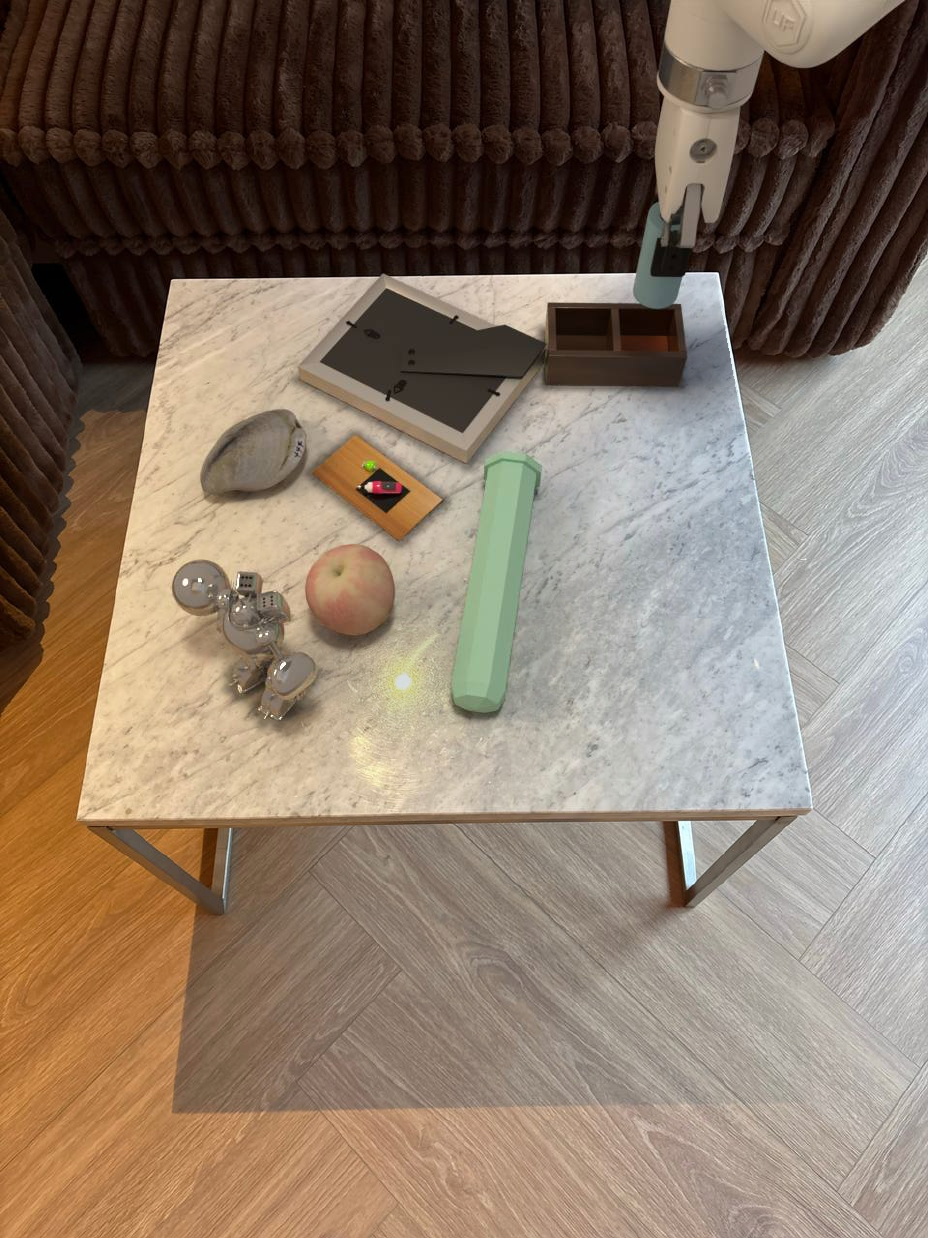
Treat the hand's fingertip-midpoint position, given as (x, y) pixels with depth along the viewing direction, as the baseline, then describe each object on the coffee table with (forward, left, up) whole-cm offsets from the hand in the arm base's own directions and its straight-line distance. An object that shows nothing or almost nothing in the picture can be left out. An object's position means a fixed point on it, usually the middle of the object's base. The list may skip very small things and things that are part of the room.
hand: (665, 252), depth 88 cm
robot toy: (+36, +37, -14) cm, 54 cm away
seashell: (+39, +15, -14) cm, 44 cm away
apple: (+28, +31, -14) cm, 44 cm away
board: (+27, +17, -14) cm, 35 cm away
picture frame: (+23, +2, -14) cm, 27 cm away
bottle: (0, 0, -5) cm, 5 cm away
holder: (+3, 0, -14) cm, 15 cm away
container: (+15, +29, -14) cm, 36 cm away
